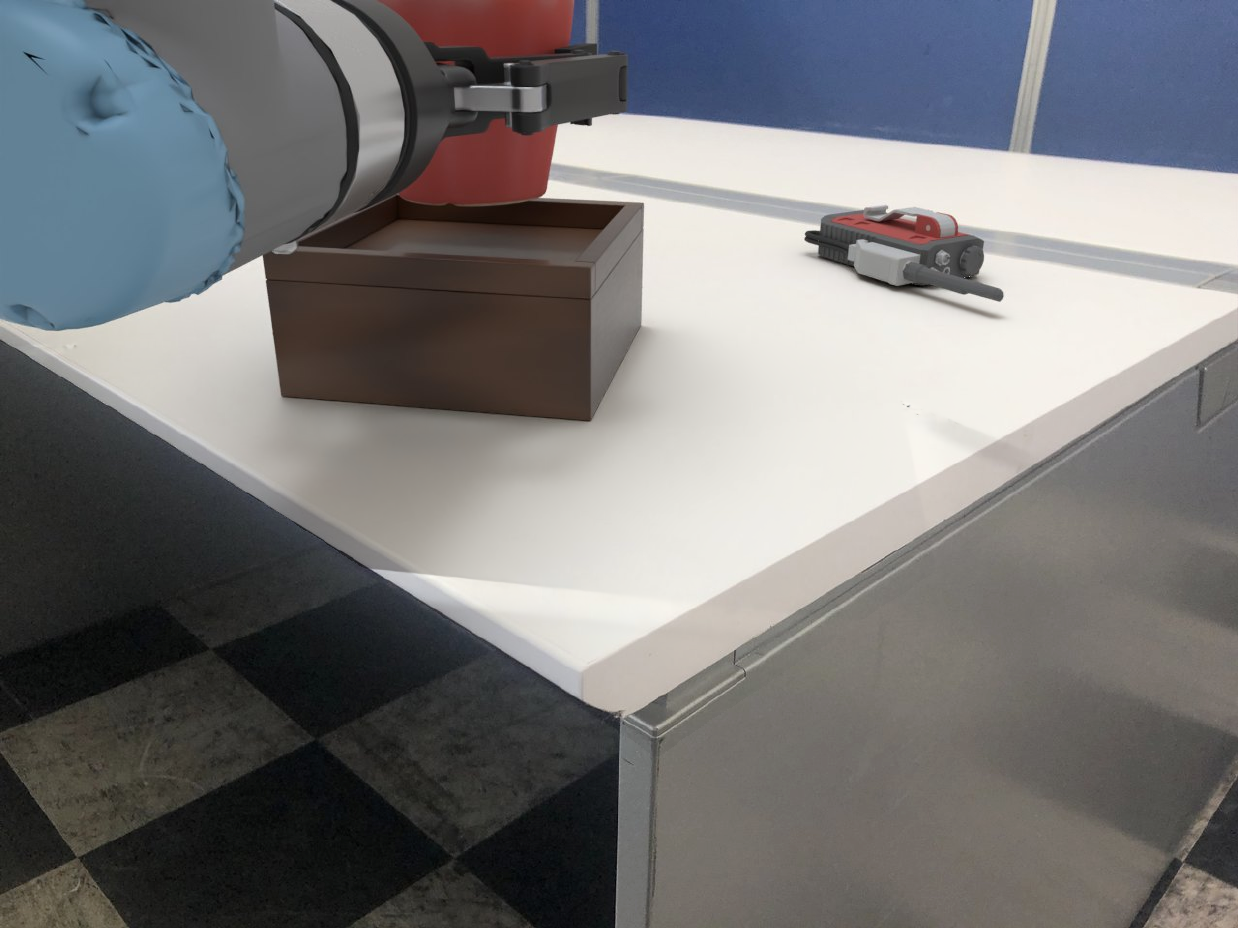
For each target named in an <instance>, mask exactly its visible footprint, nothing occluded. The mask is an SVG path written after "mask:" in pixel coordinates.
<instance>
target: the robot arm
mask: <svg viewBox="0 0 1238 928" xmlns="http://www.w3.org/2000/svg"><path fill="white" fill-rule="evenodd" d="M442 61H453V62H454V64H455V66H454V65H449V64H444V63H439V62H442ZM628 68H629V55H628V54H626V52H621V50H609V51H608V52H607V53H605V54H603V53H602V54H598V43H589V42H583V43H579V44H573V45H572V44H571V45H569V46H568V47H562V48H558V49H555V54H541V55H520V56H500V57H488V56H487V54H486V52H485V50H484V49H483V48H481V47H474V46H437V45H435V44H434V43H433V42H425V41H422V40H421V38H420V37H419V35H418V34H417V33H416V32H415V30H414V29H413V28H412V27H411V26H410V25H409V24H408V23H407V22H406V21H405V20H404V19H403V18H402V17H401V16H400V15H398V14H397V13H396V12H395V11H393V10H392V9H390V8H389V7H387V6H386V5H384V4H382V3H380V2H379V1H377V0H0V320H1V321H5V322H8V323H12V324H16V325H21V326H25V327H29V328H34V329H38V330H42V331H47V332H61V331H66V330H81V329H86V328H93V327H96V326H101V325H104V324H107V323H110V322H113V321H115V320H118V319H121V318H124V317H127V316H130V315H133V314H136V313H138V312H141V311H143V310H147V309H149V308H152V307H155V306H158V305H161V304H163V303H169V304H172V303H178V302H181V301H182V300H184V299H188V298H190V297H191V296H192V295H196V296H199V295H201V294H202V293H204V292H206V291H207V290H209V289H210V288H211V287H212V286H213V285H214V284H217V283H218V282H220V281H222V280H223V276H226V275H227V274H229V273H232V272H233V271H235V270H238V269H239V268H241V267H243V266H244V265H247V264H248V263H251V262H252V261H254V260H256V259H259V258H260V257H263V255H264V254H266V253H268V252H270V251H273V252H274V253H275V254H291V253H293V252H294V251H296V250H297V249H298V248H299V244H298V239H300V238H301V237H303V236H305V235H307V234H309V233H312V232H314V231H316V230H318V229H320V228H322V227H324V226H327V225H329V224H331V223H333V222H335V221H337V220H339V219H342V218H344V217H346V216H348V215H350V214H352V213H355V212H359V211H361V210H364V209H366V208H368V207H370V206H372V205H375V204H377V203H379V202H381V201H383V200H385V199H387V198H389V197H392V196H394V195H396V194H398V193H400V192H401V191H403V190H404V189H406V188H407V187H408V186H410V185H411V184H412V183H413V182H414V181H416V180H417V179H418V177H419V176H420V175H421V174H422V173H423V172H424V170H425V169H426V168H427V166H428V165H429V163H430V161H431V160H432V158H433V156H434V154H435V152H436V150H437V148H438V146H439V143H440V142H441V141H442V140H443V139H444V138H446V137H452V136H461V135H469V134H478V133H483V132H485V131H486V130H487V129H488V128H489V125H490V123H491V121H492V120H494V119H502V118H505V126H506V127H507V128H512V131H513V132H517V133H519V134H521V135H534V133H535V132H541V131H543V130H545V129H546V128H548V127H550V126H554V125H558V126H559V125H564V124H568V123H569V125H575V126H583V127H584V126H587V127H591V126H593V118H598V117H604V116H609V115H615V116H616V115H620V114H621V113H625V112H627V111H628V83H629V81H628V75H629V74H628V73H629V69H628Z"/></svg>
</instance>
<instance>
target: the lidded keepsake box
mask: <svg viewBox="0 0 1238 928" xmlns="http://www.w3.org/2000/svg"><path fill="white" fill-rule="evenodd" d="M644 225H645V202H639V201H638V202H637V201H636V202H635V201H620V200H619V201H617V200H597V199H596V200H595V199H575V198H573V199H572V198H551V197H539V198H537V199H534V200H530V201H526V202H520V203H513V204H506V205H495V206H472V207H470V206H456V205H454V204H451V203H448V204H446V205H440V206H437V205H426V204H419V203H414V202H410V201H407V200H404V199H403V198H401V197H400V195H399V193H398V194H396V195H394V196H392V197H389V198H387V199H385V200H383V201H381V202H379V203H377V204H375V205H372V206H370V207H368V208H366V209H364V210H361V211H359V212H355V213H352V214H350V215H348V216H346V217H344V218H342V219H339V220H337V221H335V222H333V223H331V224H329V225H327V226H324V227H322V228H320V229H318V230H316V231H314V232H312V233H309V234H307V235H305V236H303V237H301V238H300V239H298V244H299V248H298V249H297V250H296V251H294V252H293V253H291V254H275V253H274V252H273V251H270V252H268V253H266V254H264V255H262V262H263V269H264V276H265V277H264V278H265V287H266V293H267V302H268V308H269V315H270V325H271V330H272V339H273V345H274V353H275V360H276V361H275V362H276V367H277V368H276V369H277V375H278V382H279V390H280V396H281V397H287V398H288V397H289V398H299V399H313V400H327V401H337V402H339V401H340V402H350V403H351V402H352V403H363V404H364V403H365V404H375V405H390V406H400V407H414V408H426V409H439V410H453V411H463V412H465V411H466V412H476V413H477V412H478V413H490V414H500V415H501V414H502V415H514V416H515V415H516V416H527V417H528V416H529V417H541V418H551V419H563V420H564V419H565V420H577V421H578V420H579V421H592V419H593V417H594V415H595V413H596V411H597V409H598V407H599V405H600V403H601V401H602V400H603V398H604V397H605V394H606V392H607V390H608V388H609V386H610V384H611V383H612V381H613V379H614V377H615V375H616V373H617V371H618V370H619V368H620V365H621V364H622V362H623V360H624V358H625V357H626V355H627V352H628V350H629V348H630V346H631V345H632V344H633V341H634V339H635V337H636V335H637V334H638V332H639V330H640V328H641V326H642V321H643V320H642V316H643V315H642V314H643V271H644V232H645V231H644V229H645V228H644V227H645V226H644Z"/></svg>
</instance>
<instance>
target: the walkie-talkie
mask: <svg viewBox="0 0 1238 928" xmlns="http://www.w3.org/2000/svg"><path fill="white" fill-rule="evenodd" d="M888 209H889V205H887V204H881V205H875V206H867V207H864V209H861V210H853V211H852V210H851V211H846V212H845V211H844V212H837V213H831V214H829V213H828V214H826V215H824V216H822V218H820V228H819V230H816V229H815V230H814V229H813V230H806V231H805V233H804V236H805V237H804V239H803V240H804V242H806V243H808V244H812V245H814V246H817V247H818V249H817V254H818V255H819V257H822V258H823V259H827V260H830V261H834V262H836V263H839V264H844V265H847V266H850V267H853V266H854V267H853V268H854V269H855V271H856V273H857V274H859V275H861V276H862V275H863V276H866V277H870V278H872V279H876V280H879V281H882V282H885V283H888V284H889V285H893V286H897V287H898V286H904V285H911V284H910V283H913V284H916V285H928V284H930V285H928V286H933V287H937V288H940V289H943V290H946V291H949V292H953V293H956V294H959V295H968V294H970V295H973V296H977V297H981V298H983V299H988V300H992V301H995V302H998V303H1001V302H1002V301H1003V299H1004V296H1005V295H1004V291H1003V289H1001V288H999V287H996V286H992V285H989V284H985V283H982V282H979V281H974V280H971V279H969V278H965V279H964V277H969V276H973V277H976V276H977V275H979V274H980V270H981V268H982V267H983V265H984V262H985V253H984V244H985V241H984V240H983V239H982V238H979V237H977V236H976V235H972V234H968V233H965V232H960V231H959V225H958V220H956V218H955V217H954V216H953V215H951V214H948V213H944V212H939V211H937V212H936V211H933V210H930V209H925V208H921V207H917V206H911V207H904V208H895V209H892V210H891V211H889V212H887V210H888ZM904 216H909V217H913V218H915V217H916V219H915V221H913V220H909V219H905V218H903V217H904ZM913 284H912V285H913ZM916 285H915V286H916Z"/></svg>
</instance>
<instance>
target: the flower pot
mask: <svg viewBox="0 0 1238 928" xmlns="http://www.w3.org/2000/svg"><path fill="white" fill-rule="evenodd" d="M377 1H379V2H380V3H382V4H384V5H386V6H387V7H389V8H390V9H392V10H393V11H395V12H396V13H397V14H398V15H400V16H401V17H402V18H403V19H404V20H405V21H406V22H407V23H408V24H409V25H410V26H411V27H412V28H413V29H414V30H415V32H416V33H417V34H418V35H419V37H420V38H421V40H422V41H425V42H433V43H434V44H435V45H437V46H474V47H481V48H483V49H484V50H485V52H486V54H487V56H488V57H500V56H520V55H541V54H555V49H558V48H562V47H568V46H570V43H571V36H572V28H573V22H574V21H573V20H574V9H575V0H377ZM439 63H444V64H449V65H454V66H455V64H454V62H453V61H442V62H439ZM558 128H559V125H554V126H550V127H548V128H546V129H545V130H543V131H541V132H535V133H534V135H521V134H519V133H517V132H513V131H512V128H507V127H506V126H505V118H502V119H494V120H492V121H491V123H490V125H489V128H488V129H487V130H486V131H485V132H483V133H478V134H469V135H461V136H452V137H446V138H444V139H443V140H442V141H441V142H440V143H439V146H438V148H437V150H436V152H435V154H434V156H433V158H432V160H431V161H430V163H429V165H428V166H427V168H426V169H425V170H424V172H423V173H422V174H421V175H420V176H419V177H418V179H417V180H416V181H414V182H413V183H412V184H411V185H410V186H408V187H407V188H406V189H404V190H403V191H401V192H400V193H399V195H400V197H401V198H403V199H404V200H407V201H410V202H414V203H419V204H426V205H437V206H440V205H446V204H448V203H451V204H454V205H456V206H470V207H472V206H495V205H506V204H513V203H520V202H526V201H530V200H534V199H537V198H543V196H544V195H545V194H546V193H547V189H548V184H549V178H550V173H551V172H550V171H551V167H552V166H551V165H552V161H553V158H554V157H553V155H554V151H555V145H556V139H557V133H558Z"/></svg>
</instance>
